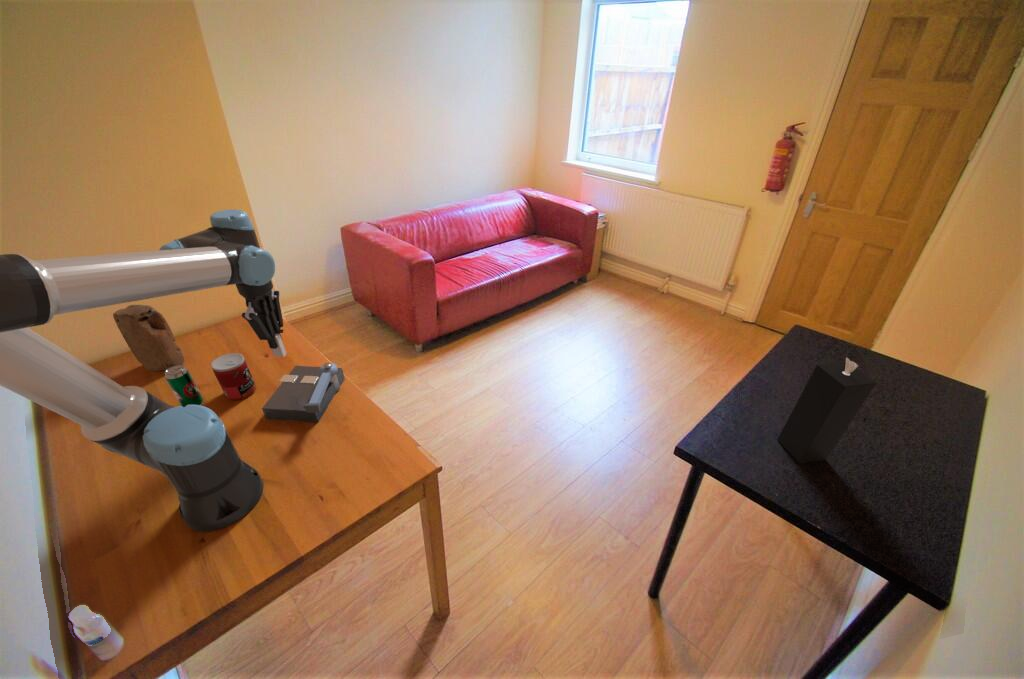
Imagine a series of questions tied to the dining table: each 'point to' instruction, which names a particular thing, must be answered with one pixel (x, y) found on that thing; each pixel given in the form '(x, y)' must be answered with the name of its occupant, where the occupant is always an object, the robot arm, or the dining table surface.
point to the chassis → (301, 394)
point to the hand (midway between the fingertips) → (280, 355)
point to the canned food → (234, 376)
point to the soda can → (183, 386)
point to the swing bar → (320, 388)
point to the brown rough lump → (148, 337)
